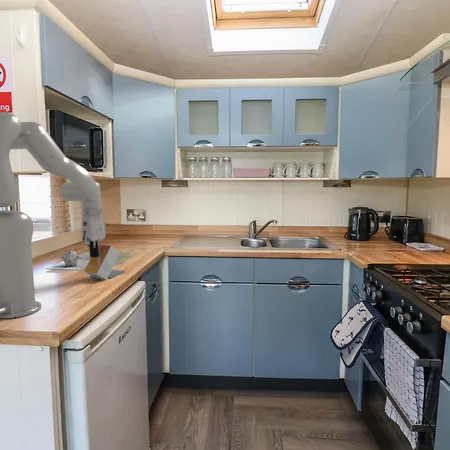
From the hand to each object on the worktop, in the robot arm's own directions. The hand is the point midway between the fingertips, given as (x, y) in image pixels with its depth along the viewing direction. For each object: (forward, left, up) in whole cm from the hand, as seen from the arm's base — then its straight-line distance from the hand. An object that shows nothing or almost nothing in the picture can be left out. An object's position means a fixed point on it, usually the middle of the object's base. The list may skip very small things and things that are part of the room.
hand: (94, 256), depth 138 cm
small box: (-1, 0, -8) cm, 8 cm away
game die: (+20, +27, -10) cm, 35 cm away
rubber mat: (+9, 0, -10) cm, 13 cm away
